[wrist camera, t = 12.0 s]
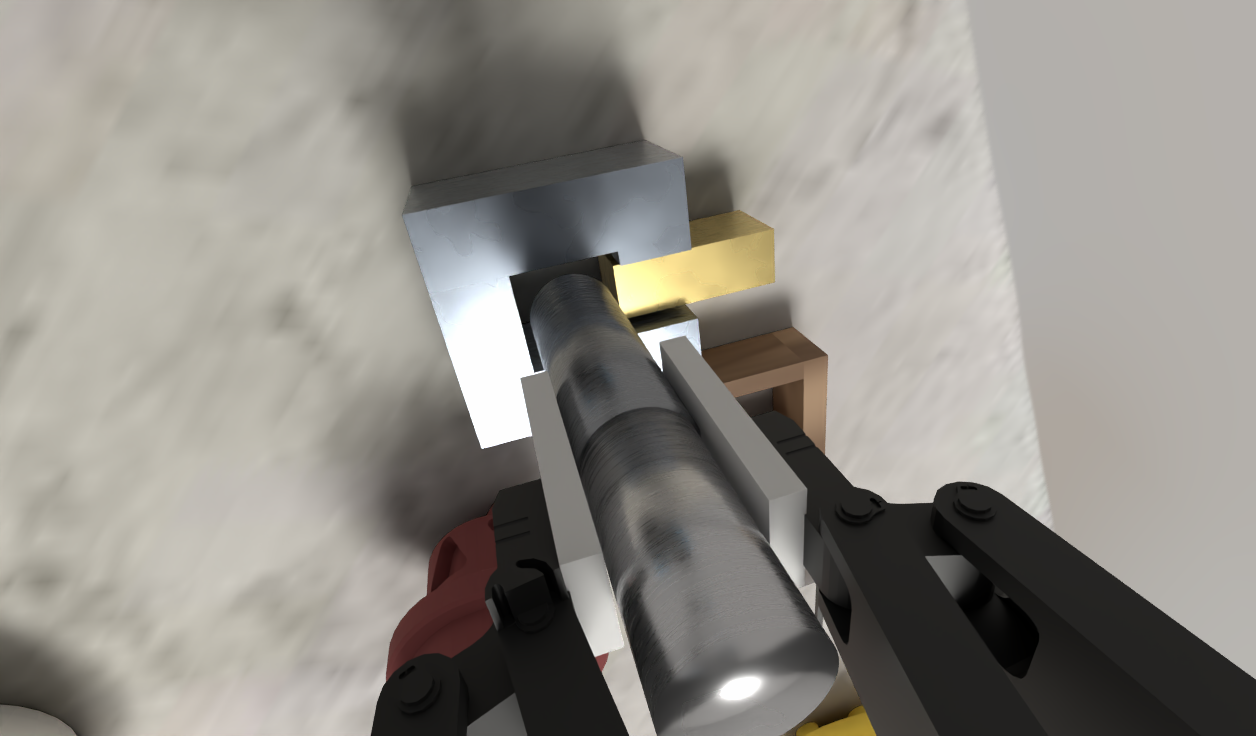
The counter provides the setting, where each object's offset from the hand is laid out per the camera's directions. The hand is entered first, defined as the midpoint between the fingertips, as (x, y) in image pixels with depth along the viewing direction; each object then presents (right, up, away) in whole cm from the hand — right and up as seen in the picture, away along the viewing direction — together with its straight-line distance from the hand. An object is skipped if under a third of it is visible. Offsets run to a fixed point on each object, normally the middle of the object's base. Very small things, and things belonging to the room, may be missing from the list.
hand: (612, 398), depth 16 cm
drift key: (+3, +6, +11) cm, 13 cm away
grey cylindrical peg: (-2, +3, +5) cm, 6 cm away
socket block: (-3, +5, +11) cm, 12 cm away
